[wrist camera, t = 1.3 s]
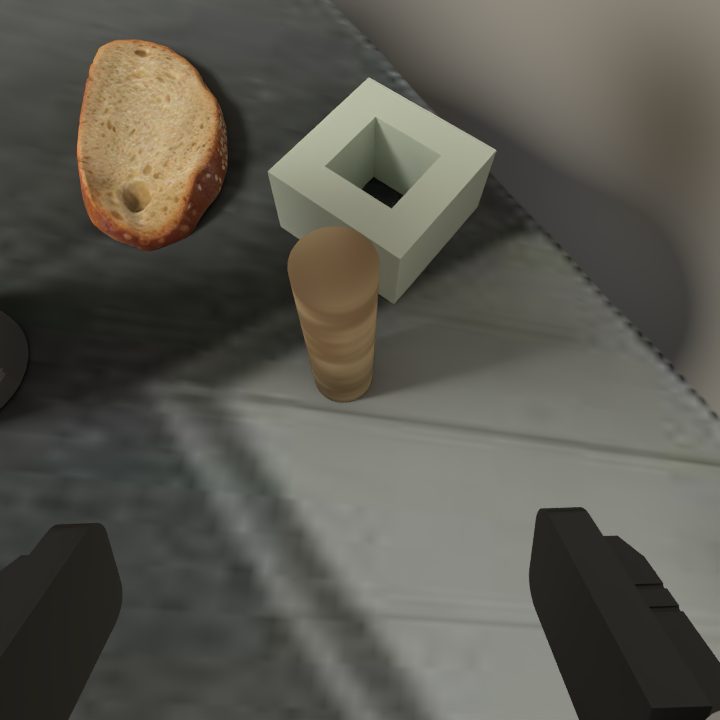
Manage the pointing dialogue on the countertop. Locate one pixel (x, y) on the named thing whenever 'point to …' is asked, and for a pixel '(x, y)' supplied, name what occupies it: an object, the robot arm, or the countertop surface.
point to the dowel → (337, 307)
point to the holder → (383, 180)
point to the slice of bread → (148, 144)
